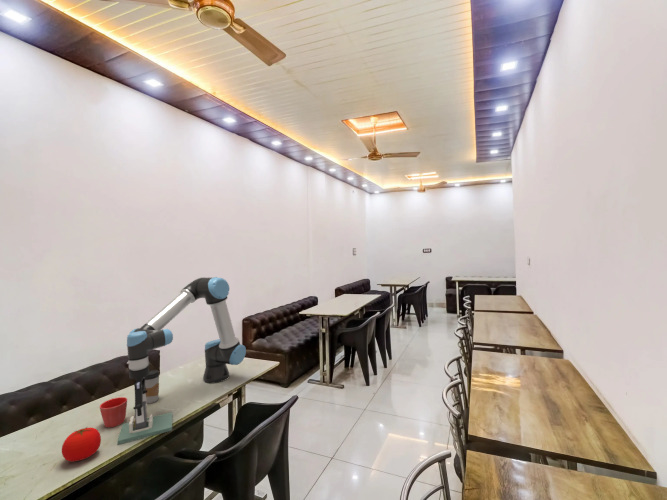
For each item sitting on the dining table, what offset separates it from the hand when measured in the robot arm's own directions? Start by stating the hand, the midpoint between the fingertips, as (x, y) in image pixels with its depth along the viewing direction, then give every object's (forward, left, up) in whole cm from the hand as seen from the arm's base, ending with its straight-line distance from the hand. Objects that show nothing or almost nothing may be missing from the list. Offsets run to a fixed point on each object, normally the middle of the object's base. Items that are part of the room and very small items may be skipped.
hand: (141, 415), depth 142 cm
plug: (0, 0, -5) cm, 5 cm away
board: (-2, 0, -6) cm, 7 cm away
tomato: (+19, +10, -7) cm, 23 cm away
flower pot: (+12, -14, -7) cm, 20 cm away
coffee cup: (-2, -31, -7) cm, 32 cm away
